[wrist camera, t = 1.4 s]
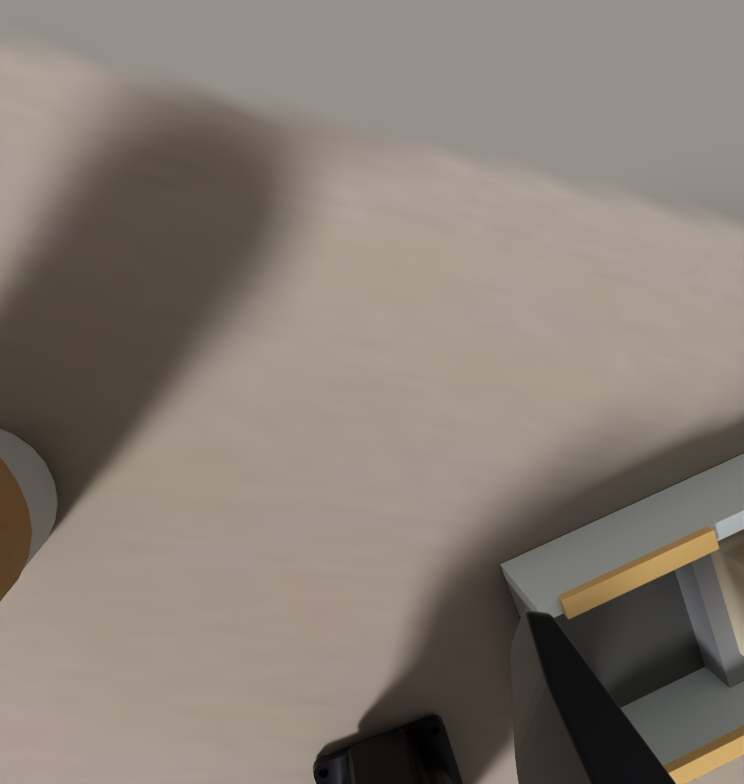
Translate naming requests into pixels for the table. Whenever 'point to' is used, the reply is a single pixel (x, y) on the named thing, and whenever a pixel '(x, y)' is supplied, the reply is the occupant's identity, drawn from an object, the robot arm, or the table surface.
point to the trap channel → (653, 615)
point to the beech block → (732, 580)
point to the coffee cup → (22, 507)
